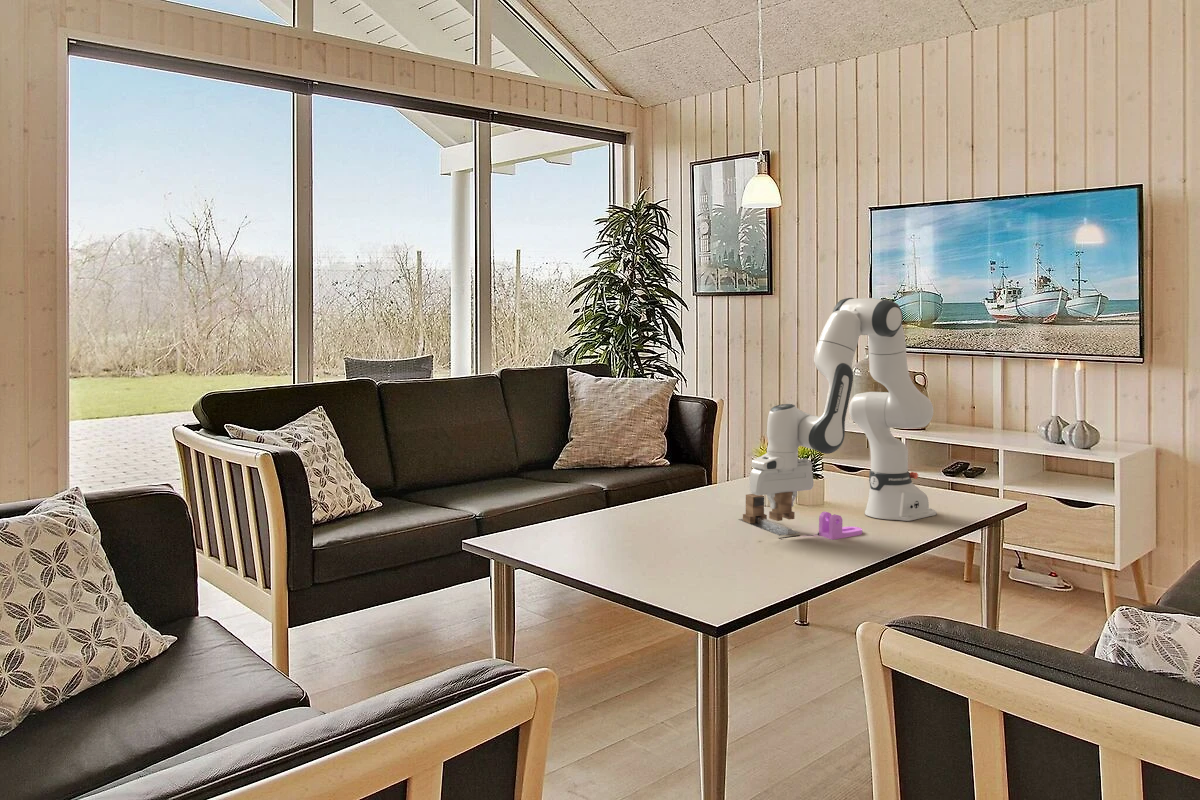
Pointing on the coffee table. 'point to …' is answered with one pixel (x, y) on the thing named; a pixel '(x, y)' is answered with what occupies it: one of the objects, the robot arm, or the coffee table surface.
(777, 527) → the rail
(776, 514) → the loose finger
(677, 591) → the coffee table surface
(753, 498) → the fixed finger
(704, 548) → the coffee table surface
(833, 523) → the bracket
